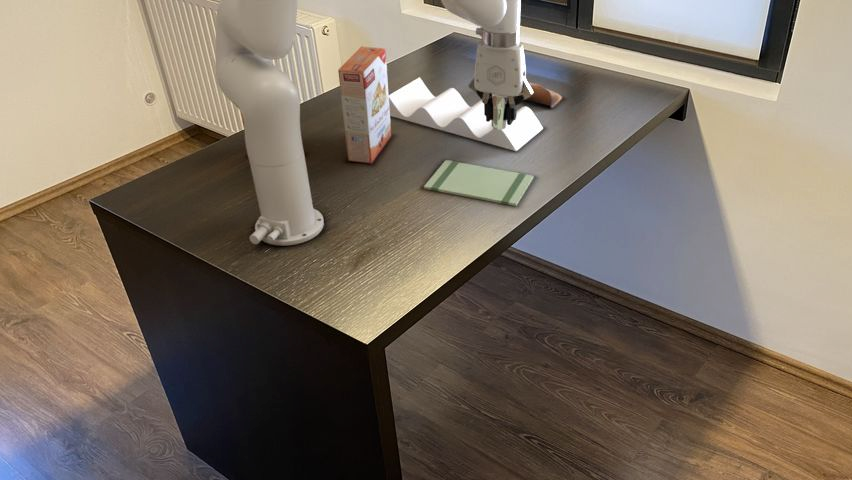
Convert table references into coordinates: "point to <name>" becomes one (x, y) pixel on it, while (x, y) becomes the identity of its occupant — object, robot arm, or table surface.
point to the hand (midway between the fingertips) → (500, 120)
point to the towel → (479, 182)
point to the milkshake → (499, 111)
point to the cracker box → (365, 103)
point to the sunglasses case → (543, 95)
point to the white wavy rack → (460, 116)
